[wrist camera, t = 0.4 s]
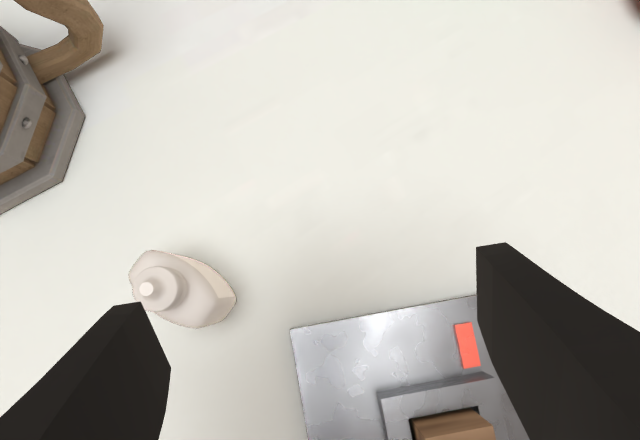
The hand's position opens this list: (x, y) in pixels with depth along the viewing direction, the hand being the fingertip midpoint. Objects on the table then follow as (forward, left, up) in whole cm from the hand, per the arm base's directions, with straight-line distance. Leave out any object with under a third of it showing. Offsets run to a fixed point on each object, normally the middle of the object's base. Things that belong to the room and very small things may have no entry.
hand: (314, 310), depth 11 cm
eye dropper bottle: (+2, +8, -27) cm, 28 cm away
